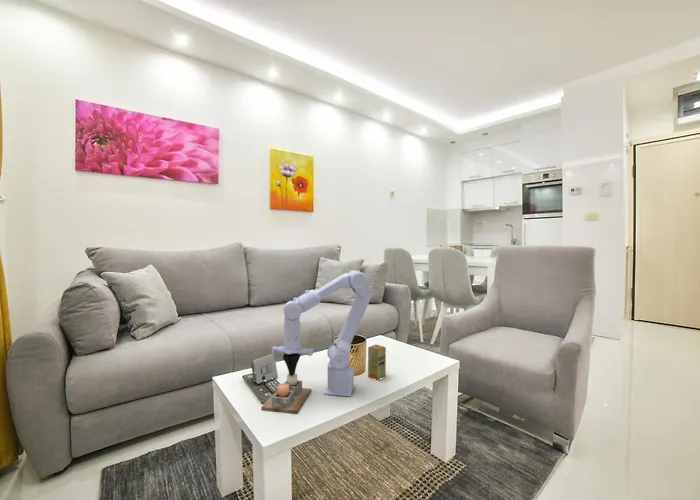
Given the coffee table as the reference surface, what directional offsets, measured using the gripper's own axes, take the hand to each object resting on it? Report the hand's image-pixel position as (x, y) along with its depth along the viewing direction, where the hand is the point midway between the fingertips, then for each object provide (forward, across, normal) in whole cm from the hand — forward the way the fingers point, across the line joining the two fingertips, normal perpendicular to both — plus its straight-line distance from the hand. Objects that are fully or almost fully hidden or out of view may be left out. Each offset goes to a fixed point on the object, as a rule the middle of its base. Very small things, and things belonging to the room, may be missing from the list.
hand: (292, 374), depth 109 cm
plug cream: (+3, 0, 0) cm, 3 cm away
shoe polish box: (+7, +28, +20) cm, 35 cm away
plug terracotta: (+3, 0, -8) cm, 9 cm away
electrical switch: (+8, -15, +9) cm, 19 cm away
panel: (+7, 0, -4) cm, 8 cm away
